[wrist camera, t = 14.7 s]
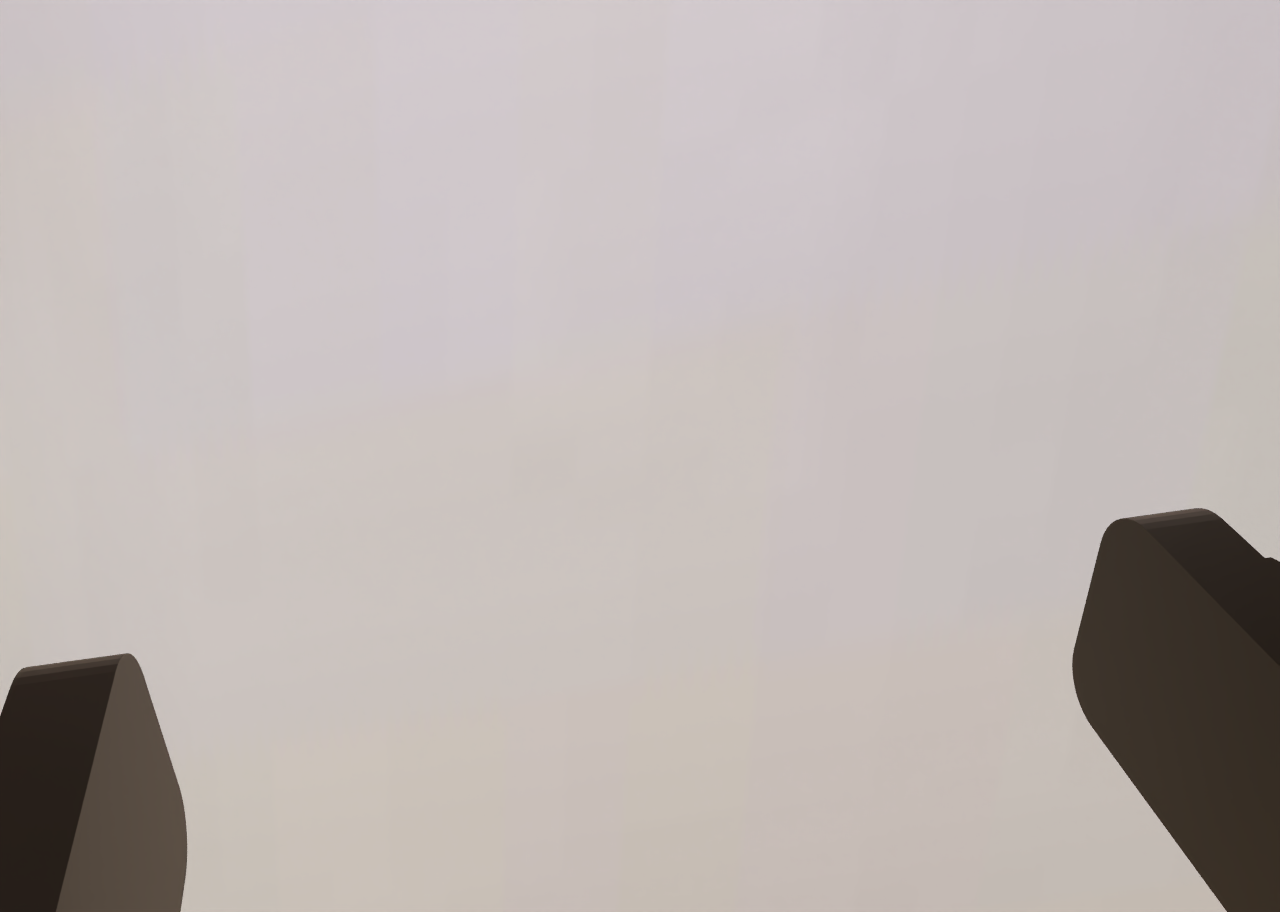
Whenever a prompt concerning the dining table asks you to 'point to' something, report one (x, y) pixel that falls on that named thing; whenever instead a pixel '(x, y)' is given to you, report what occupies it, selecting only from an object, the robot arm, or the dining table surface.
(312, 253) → the dining table surface
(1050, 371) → the dining table surface
